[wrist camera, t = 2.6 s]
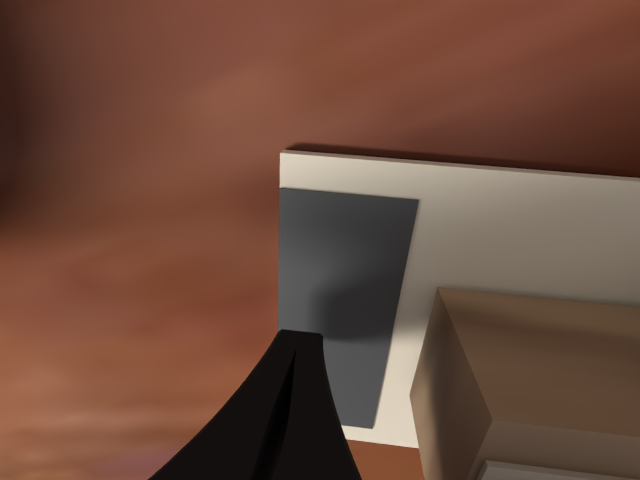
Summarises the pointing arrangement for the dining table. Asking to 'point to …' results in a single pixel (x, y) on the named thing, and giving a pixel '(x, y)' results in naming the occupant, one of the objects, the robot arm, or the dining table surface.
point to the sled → (528, 389)
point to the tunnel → (434, 260)
